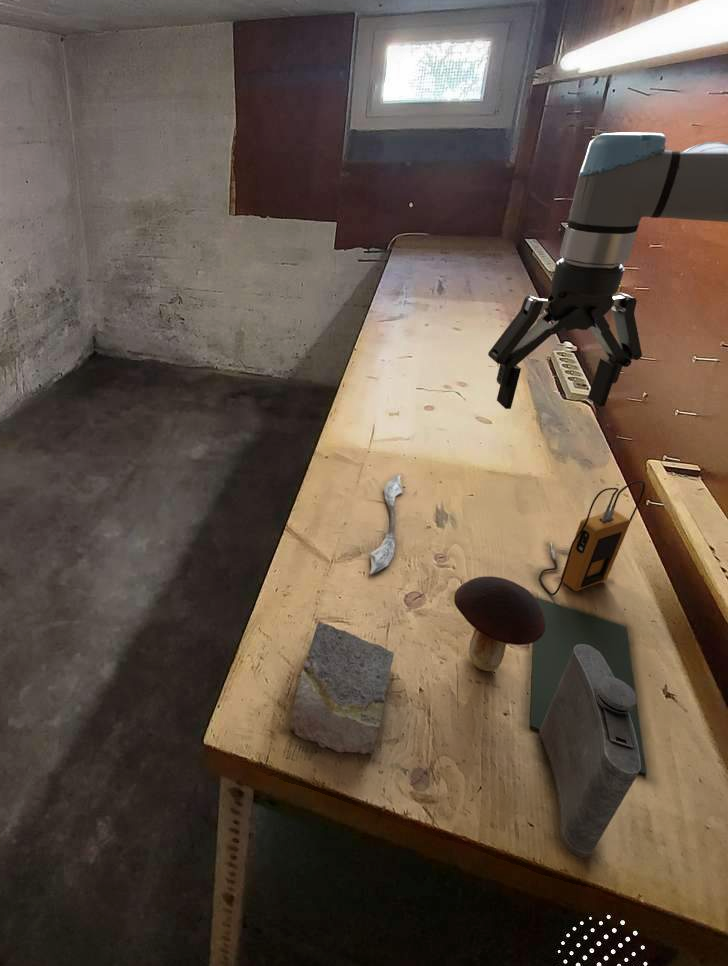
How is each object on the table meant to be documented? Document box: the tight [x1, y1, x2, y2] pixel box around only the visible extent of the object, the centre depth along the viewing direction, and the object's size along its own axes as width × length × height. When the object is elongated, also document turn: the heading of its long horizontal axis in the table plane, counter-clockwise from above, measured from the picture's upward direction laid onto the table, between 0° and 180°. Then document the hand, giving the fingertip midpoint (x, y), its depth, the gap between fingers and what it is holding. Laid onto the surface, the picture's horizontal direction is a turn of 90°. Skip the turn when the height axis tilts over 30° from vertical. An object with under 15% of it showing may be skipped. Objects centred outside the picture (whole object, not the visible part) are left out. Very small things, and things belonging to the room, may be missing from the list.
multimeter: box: [538, 480, 646, 596], centre depth 92 cm, size 15×10×20 cm
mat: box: [529, 596, 647, 776], centre depth 78 cm, size 12×24×1 cm, turn 150°
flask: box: [539, 644, 641, 858], centre depth 61 cm, size 4×14×18 cm, turn 161°
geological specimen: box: [288, 620, 395, 756], centre depth 75 cm, size 11×6×15 cm
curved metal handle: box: [369, 473, 404, 575], centre depth 108 cm, size 32×1×5 cm
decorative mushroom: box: [453, 575, 546, 672], centre depth 77 cm, size 11×11×15 cm
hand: (549, 403), depth 83 cm, fingers open, 13 cm apart
